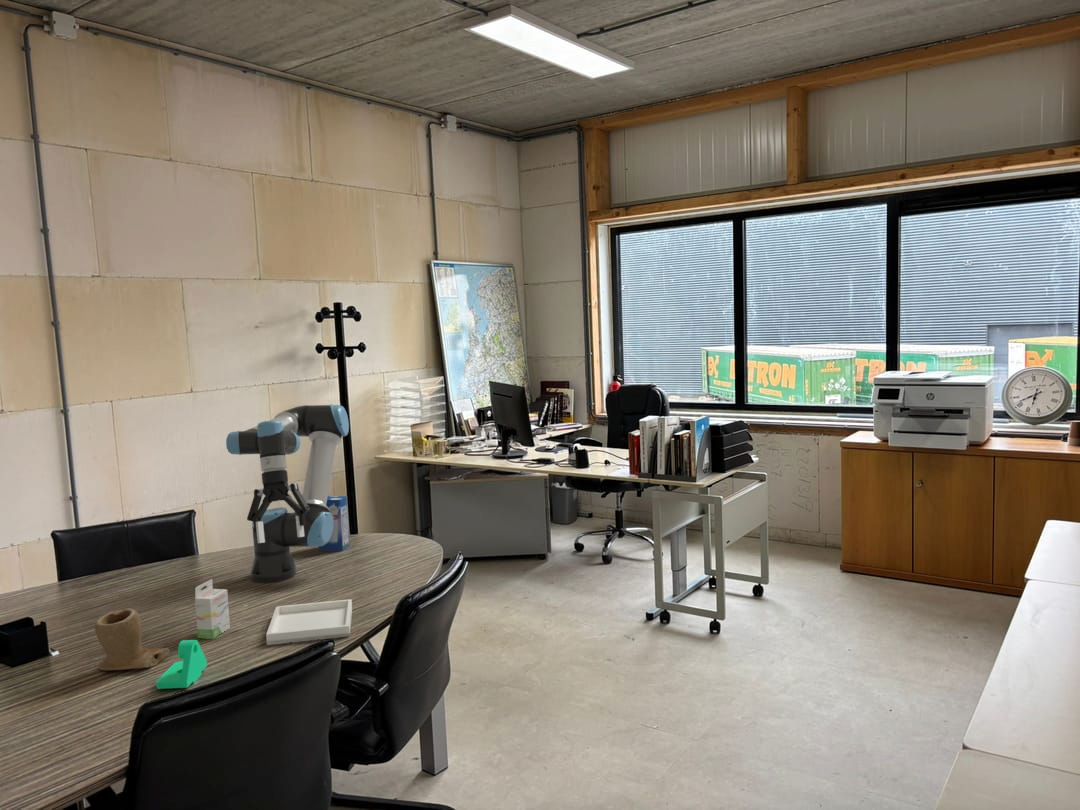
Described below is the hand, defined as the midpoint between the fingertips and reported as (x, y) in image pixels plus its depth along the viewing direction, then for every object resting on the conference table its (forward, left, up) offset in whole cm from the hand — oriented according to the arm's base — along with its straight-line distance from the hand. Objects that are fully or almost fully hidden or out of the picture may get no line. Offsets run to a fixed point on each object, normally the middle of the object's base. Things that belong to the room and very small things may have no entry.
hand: (281, 540), depth 241 cm
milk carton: (-64, +11, -22) cm, 68 cm away
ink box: (+15, -18, -22) cm, 32 cm away
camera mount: (+45, -20, -22) cm, 54 cm away
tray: (+17, +9, -22) cm, 29 cm away
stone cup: (+33, -35, -22) cm, 53 cm away
